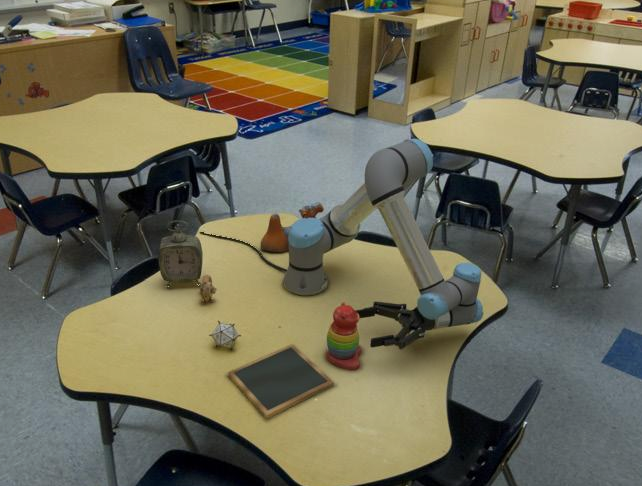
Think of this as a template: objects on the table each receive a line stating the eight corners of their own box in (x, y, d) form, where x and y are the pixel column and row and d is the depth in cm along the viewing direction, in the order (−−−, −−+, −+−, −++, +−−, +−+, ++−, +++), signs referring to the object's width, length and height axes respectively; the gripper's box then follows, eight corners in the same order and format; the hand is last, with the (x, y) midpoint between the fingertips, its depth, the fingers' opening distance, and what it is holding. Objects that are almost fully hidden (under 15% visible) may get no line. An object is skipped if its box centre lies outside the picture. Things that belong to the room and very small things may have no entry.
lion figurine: (218, 307, 194) (217, 285, 189) (202, 310, 193) (200, 287, 188) (212, 284, 206) (210, 262, 202) (197, 286, 205) (195, 264, 201)
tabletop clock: (162, 291, 203) (153, 227, 190) (164, 277, 211) (156, 214, 198) (204, 289, 204) (198, 225, 191) (205, 275, 211) (199, 213, 198)
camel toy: (260, 254, 223) (258, 213, 214) (261, 237, 235) (259, 198, 226) (325, 254, 223) (327, 213, 214) (323, 237, 234) (324, 197, 225)
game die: (232, 352, 180) (250, 329, 177) (221, 361, 172) (240, 337, 169) (210, 333, 181) (228, 310, 178) (199, 341, 173) (217, 317, 170)
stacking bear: (359, 371, 166) (363, 320, 157) (323, 366, 168) (325, 316, 159) (361, 347, 175) (365, 298, 166) (328, 343, 177) (330, 294, 168)
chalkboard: (228, 375, 166) (228, 371, 165) (291, 347, 176) (291, 343, 175) (266, 419, 151) (266, 414, 150) (333, 385, 161) (333, 381, 161)
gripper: (449, 353, 163) (377, 366, 159) (410, 304, 184) (346, 314, 180) (453, 332, 159) (380, 345, 155) (413, 284, 180) (348, 294, 176)
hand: (362, 328), depth 168 cm, fingers open, 13 cm apart
